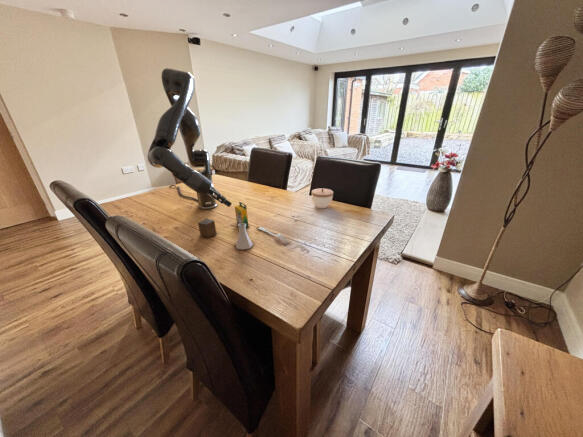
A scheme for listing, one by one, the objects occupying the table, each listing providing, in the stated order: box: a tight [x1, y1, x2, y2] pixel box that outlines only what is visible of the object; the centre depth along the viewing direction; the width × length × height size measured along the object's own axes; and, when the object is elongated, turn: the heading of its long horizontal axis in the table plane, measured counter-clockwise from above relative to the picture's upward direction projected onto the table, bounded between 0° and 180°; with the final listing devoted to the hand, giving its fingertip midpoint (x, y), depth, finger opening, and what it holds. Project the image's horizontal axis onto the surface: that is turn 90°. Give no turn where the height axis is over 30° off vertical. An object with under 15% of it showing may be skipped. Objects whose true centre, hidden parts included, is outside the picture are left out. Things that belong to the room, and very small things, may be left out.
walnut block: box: [197, 218, 217, 239], centre depth 108 cm, size 5×5×7 cm
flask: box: [235, 223, 254, 251], centre depth 98 cm, size 7×7×10 cm
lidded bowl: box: [311, 187, 334, 209], centre depth 138 cm, size 13×13×11 cm
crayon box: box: [234, 201, 249, 229], centre depth 115 cm, size 7×3×12 cm, turn 39°
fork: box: [257, 226, 290, 245], centre depth 108 cm, size 3×21×3 cm, turn 43°
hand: (227, 202), depth 109 cm, fingers open, 8 cm apart
